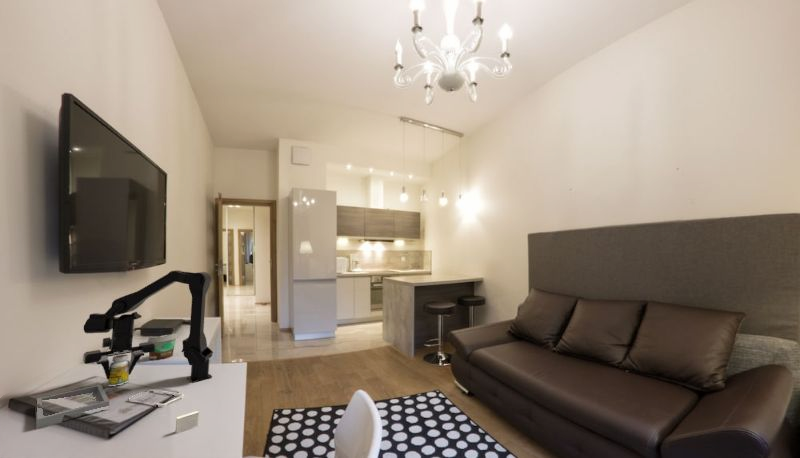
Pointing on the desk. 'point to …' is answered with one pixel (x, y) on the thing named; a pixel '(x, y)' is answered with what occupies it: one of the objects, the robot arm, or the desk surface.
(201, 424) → the desk surface
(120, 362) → the supplement bottle
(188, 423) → the eraser
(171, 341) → the food container
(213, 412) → the desk surface
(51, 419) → the tray
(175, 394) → the phone case
